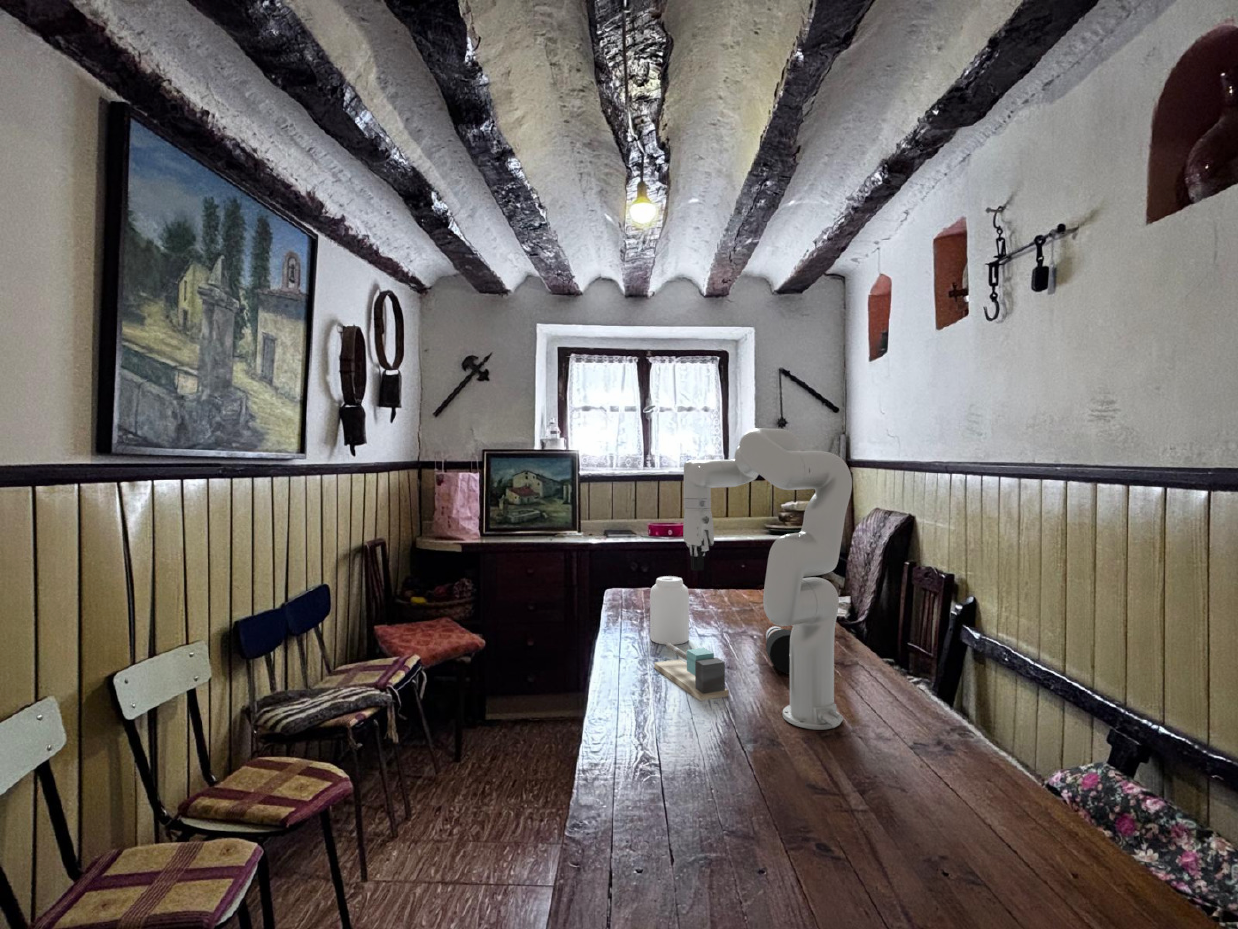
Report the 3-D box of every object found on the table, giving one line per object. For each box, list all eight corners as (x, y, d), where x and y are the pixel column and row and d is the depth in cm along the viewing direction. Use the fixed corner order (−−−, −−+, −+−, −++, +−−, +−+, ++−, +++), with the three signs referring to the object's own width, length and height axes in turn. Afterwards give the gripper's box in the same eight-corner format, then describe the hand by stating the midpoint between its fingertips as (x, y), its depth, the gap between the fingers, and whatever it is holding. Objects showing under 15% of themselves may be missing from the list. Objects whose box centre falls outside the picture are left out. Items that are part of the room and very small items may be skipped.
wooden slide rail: (728, 696, 159) (728, 661, 159) (699, 700, 156) (699, 665, 156) (680, 664, 183) (679, 634, 183) (654, 668, 180) (654, 637, 180)
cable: (781, 655, 206) (795, 627, 206) (797, 681, 172) (815, 647, 172) (752, 639, 207) (766, 611, 208) (763, 662, 174) (780, 628, 174)
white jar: (646, 644, 203) (646, 580, 203) (654, 633, 215) (653, 573, 215) (686, 647, 200) (686, 582, 200) (691, 636, 212) (691, 575, 212)
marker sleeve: (713, 674, 163) (713, 653, 163) (696, 676, 161) (696, 655, 161) (704, 668, 167) (704, 647, 167) (686, 670, 166) (686, 650, 165)
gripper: (722, 506, 176) (722, 573, 176) (696, 502, 190) (696, 564, 190) (698, 507, 173) (698, 575, 173) (673, 503, 187) (673, 566, 187)
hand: (697, 569), depth 182 cm, fingers closed
